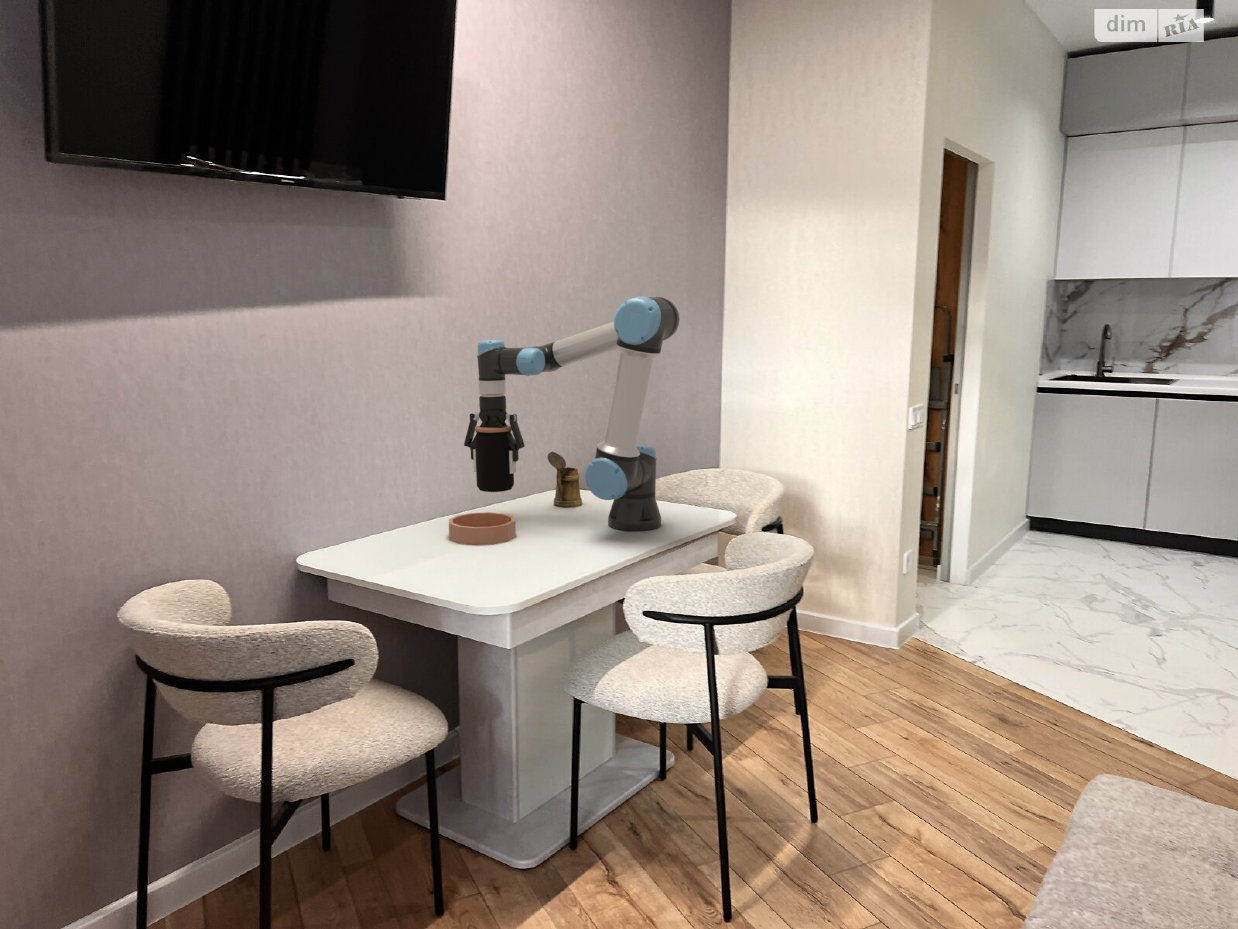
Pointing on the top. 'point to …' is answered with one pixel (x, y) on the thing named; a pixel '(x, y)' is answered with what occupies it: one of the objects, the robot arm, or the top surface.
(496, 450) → the coffee jar
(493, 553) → the top surface
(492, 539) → the terracotta bowl
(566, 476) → the wooden mug
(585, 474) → the robot arm
